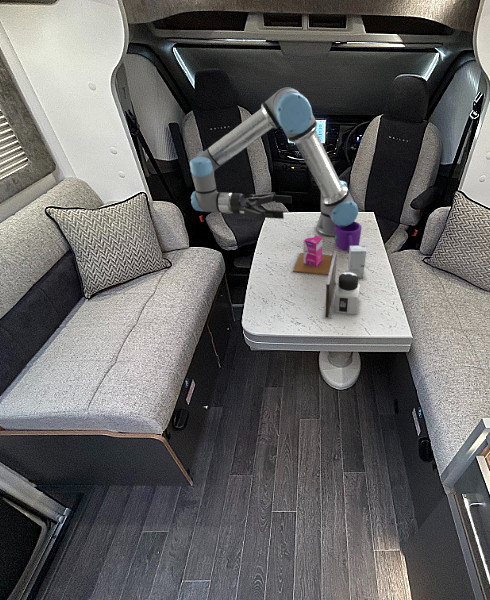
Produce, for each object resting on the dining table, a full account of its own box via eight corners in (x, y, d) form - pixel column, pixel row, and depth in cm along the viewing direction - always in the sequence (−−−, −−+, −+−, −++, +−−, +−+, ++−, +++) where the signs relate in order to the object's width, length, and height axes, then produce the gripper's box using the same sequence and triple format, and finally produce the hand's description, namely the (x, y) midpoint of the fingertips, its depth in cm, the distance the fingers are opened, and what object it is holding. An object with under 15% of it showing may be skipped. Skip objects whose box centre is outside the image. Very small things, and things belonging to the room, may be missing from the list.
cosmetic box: (348, 278, 134) (350, 251, 126) (347, 271, 137) (348, 245, 129) (363, 277, 134) (366, 251, 126) (362, 271, 137) (365, 245, 130)
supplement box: (303, 264, 140) (302, 239, 133) (310, 257, 144) (310, 233, 137) (315, 268, 138) (315, 243, 131) (322, 261, 142) (323, 236, 135)
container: (356, 314, 117) (359, 284, 109) (334, 312, 118) (335, 281, 110) (358, 300, 123) (361, 270, 115) (337, 298, 124) (338, 268, 116)
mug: (333, 240, 157) (333, 220, 151) (357, 239, 158) (359, 219, 151) (336, 260, 144) (337, 239, 137) (363, 259, 144) (365, 238, 138)
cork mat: (300, 253, 147) (300, 252, 147) (332, 256, 146) (332, 255, 145) (293, 271, 137) (293, 270, 136) (327, 275, 135) (327, 274, 135)
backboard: (332, 283, 131) (333, 251, 122) (335, 283, 131) (336, 252, 122) (325, 317, 116) (326, 284, 107) (328, 317, 116) (329, 284, 107)
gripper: (244, 199, 141) (294, 203, 139) (222, 227, 122) (280, 231, 120) (242, 181, 137) (294, 184, 134) (218, 207, 118) (278, 211, 115)
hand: (287, 207), depth 127 cm, fingers open, 13 cm apart
